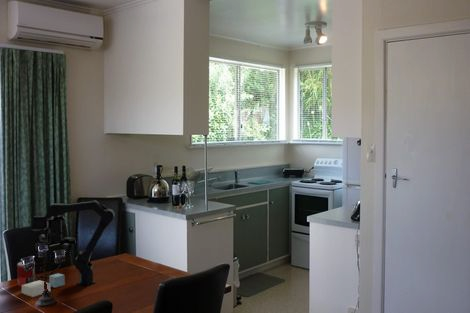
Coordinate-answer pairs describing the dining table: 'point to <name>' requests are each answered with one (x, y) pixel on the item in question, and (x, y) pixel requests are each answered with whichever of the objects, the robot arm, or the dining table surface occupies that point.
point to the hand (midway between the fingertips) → (56, 261)
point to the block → (57, 280)
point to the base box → (35, 288)
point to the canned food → (25, 275)
